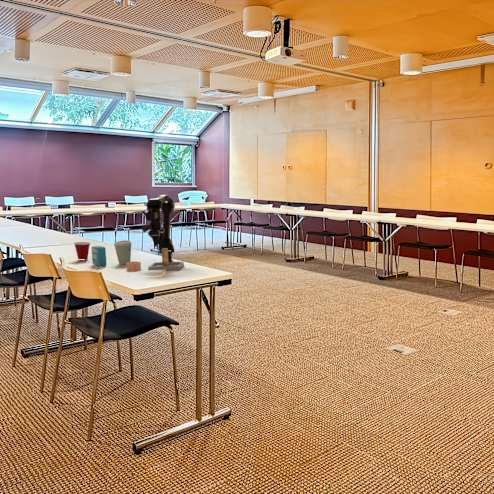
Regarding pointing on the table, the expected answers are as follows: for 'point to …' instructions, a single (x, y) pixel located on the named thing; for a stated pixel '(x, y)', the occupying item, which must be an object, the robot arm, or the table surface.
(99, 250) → the data package
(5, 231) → the table surface
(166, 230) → the robot arm
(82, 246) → the plastic cup
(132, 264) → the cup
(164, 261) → the dowel
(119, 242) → the disposable coffee cup
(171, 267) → the tray
